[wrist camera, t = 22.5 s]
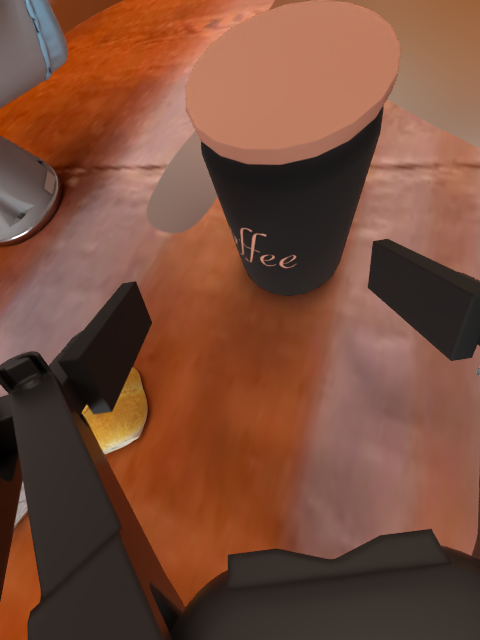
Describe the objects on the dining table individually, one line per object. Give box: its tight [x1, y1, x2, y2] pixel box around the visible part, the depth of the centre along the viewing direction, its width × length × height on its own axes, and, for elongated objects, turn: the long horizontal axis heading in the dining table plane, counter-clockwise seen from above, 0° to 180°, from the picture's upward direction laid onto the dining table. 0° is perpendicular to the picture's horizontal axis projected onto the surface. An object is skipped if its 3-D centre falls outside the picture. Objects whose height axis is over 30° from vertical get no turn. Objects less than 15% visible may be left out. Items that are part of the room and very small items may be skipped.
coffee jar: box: [185, 0, 401, 296], centre depth 21 cm, size 11×11×18 cm
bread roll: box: [82, 367, 148, 454], centre depth 27 cm, size 8×9×4 cm
